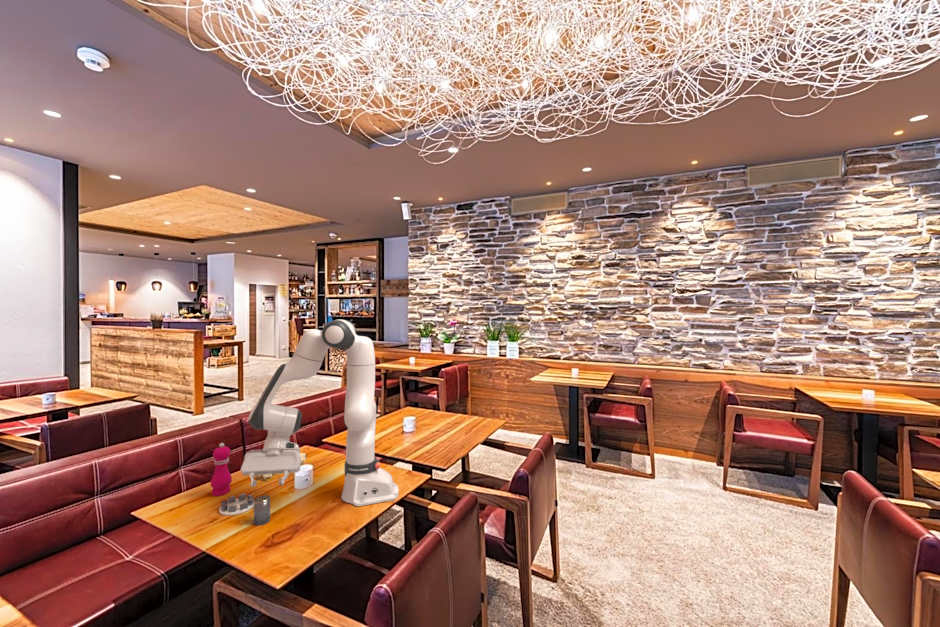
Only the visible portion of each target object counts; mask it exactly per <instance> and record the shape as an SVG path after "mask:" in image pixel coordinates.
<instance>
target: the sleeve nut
mask: <svg viewBox="0 0 940 627" xmlns="http://www.w3.org/2000/svg"><path fill="white" fill-rule="evenodd" d="M270 521H271V496H270V495H269V494H268V495H266V494H265V495H264V494H263V495H260V496H257V497H254V507H253V525H254V526H264V525H266V524H268V523H269V522H270Z"/></svg>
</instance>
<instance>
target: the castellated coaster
mask: <svg viewBox="0 0 940 627" xmlns="http://www.w3.org/2000/svg"><path fill="white" fill-rule="evenodd" d="M254 499H255V497H254V494H251V493H250V494H248V495H247V493H240V494H239V495H238V498H236V496H235V495H231V496H229V497H228V496H227V499H223V500H222V501H221V503H220V506H219V508H218V512H219V514H220V515H222V516H236V515H237V516H238V515H241V514H244V513H246V512H248V511H250V510H252V509H254Z"/></svg>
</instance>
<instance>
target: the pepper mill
mask: <svg viewBox="0 0 940 627" xmlns="http://www.w3.org/2000/svg"><path fill="white" fill-rule="evenodd" d="M230 456H231V449H230V447H228V446H225V443H224V442H220V443H219V445H218V447H216V448H214V450H213V453H212V457H213V458H214V460H213V461H214V463H213V465H214V466H215V469H214V473H213V475H212V476H211V477H212V478H211V480H210V486H211V488H212V490H211V495H212V496H213V497H221V496H224V495H226V494H228V493H230V491H231V484H232V481H233V478H232V474H231V473H230V471H229V467H228V466H229V465H228V464H229V462H230Z"/></svg>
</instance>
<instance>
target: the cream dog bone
mask: <svg viewBox="0 0 940 627" xmlns="http://www.w3.org/2000/svg"><path fill="white" fill-rule="evenodd" d="M299 455H300V458H301V465H303V464H304V463H305V462H306V459H307V457H308V455H307V454H306V453H304V452H300V454H299ZM272 477H273V474H263V475H256V476H255V480H256V479H257V480H262V481H263V482H265V481H267V480H268V478H272Z"/></svg>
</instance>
